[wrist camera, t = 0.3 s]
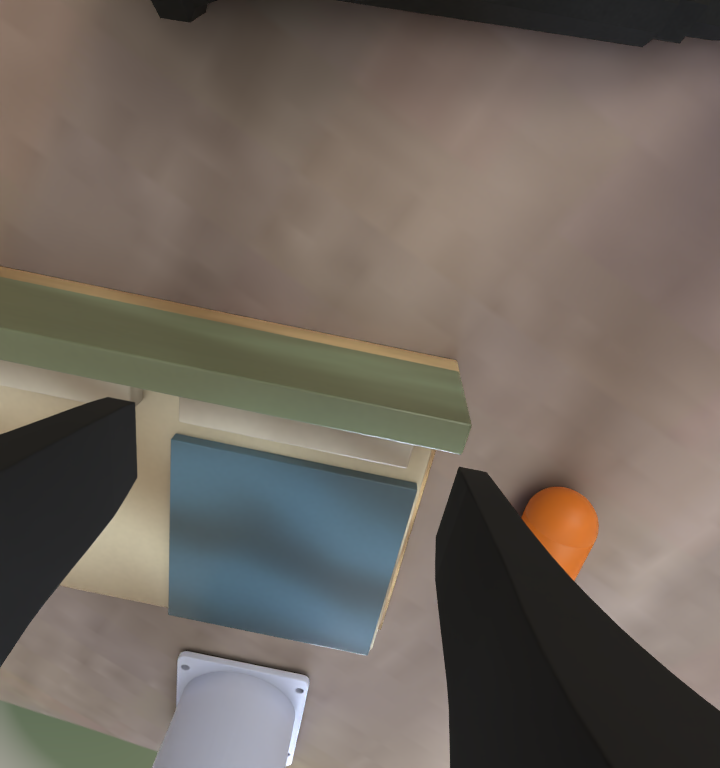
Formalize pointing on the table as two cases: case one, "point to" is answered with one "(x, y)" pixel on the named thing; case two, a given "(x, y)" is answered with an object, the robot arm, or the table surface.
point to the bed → (239, 454)
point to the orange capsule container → (563, 525)
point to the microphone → (547, 16)
